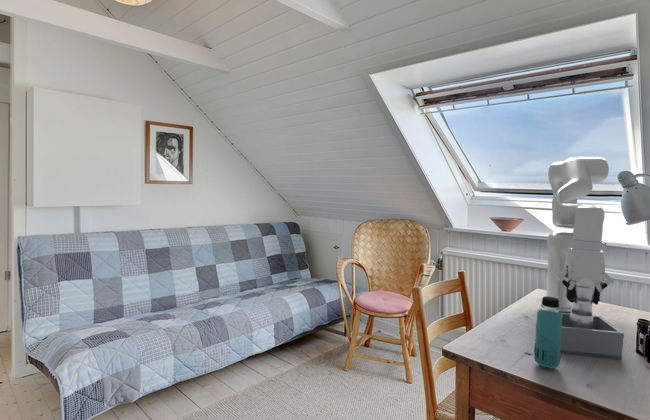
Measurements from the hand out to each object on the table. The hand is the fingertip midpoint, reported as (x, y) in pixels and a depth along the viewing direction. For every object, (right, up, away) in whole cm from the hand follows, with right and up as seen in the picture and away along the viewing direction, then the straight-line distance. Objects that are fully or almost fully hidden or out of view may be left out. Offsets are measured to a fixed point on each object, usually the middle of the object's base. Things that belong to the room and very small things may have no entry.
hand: (582, 301), depth 124 cm
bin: (0, -14, +1) cm, 14 cm away
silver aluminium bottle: (0, -9, +1) cm, 9 cm away
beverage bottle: (-19, -15, -14) cm, 28 cm away
